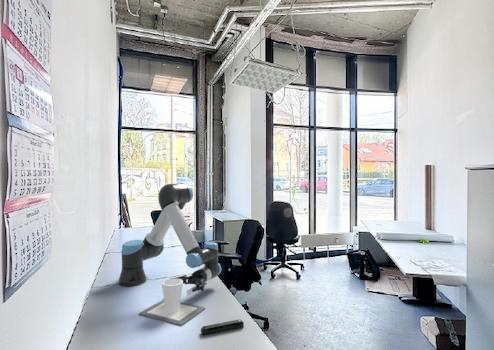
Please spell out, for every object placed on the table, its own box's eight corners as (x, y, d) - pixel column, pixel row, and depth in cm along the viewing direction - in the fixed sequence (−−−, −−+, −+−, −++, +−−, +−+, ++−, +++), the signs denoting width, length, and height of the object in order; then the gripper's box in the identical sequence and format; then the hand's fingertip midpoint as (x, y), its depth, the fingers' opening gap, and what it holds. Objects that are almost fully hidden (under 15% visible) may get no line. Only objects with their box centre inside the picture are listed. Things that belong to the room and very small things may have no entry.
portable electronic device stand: (202, 337, 126) (202, 329, 126) (200, 334, 128) (200, 326, 128) (244, 328, 133) (244, 321, 133) (241, 325, 135) (241, 318, 135)
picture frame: (138, 314, 144) (138, 312, 144) (165, 299, 160) (165, 298, 160) (181, 325, 134) (181, 324, 134) (205, 309, 150) (205, 307, 150)
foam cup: (187, 308, 149) (187, 280, 148) (173, 316, 141) (173, 287, 141) (172, 304, 154) (172, 277, 153) (157, 311, 146) (157, 283, 145)
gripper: (221, 287, 162) (197, 303, 143) (182, 279, 173) (154, 293, 154) (221, 272, 162) (197, 286, 143) (182, 266, 173) (154, 277, 154)
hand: (175, 290), depth 148 cm, fingers open, 13 cm apart
